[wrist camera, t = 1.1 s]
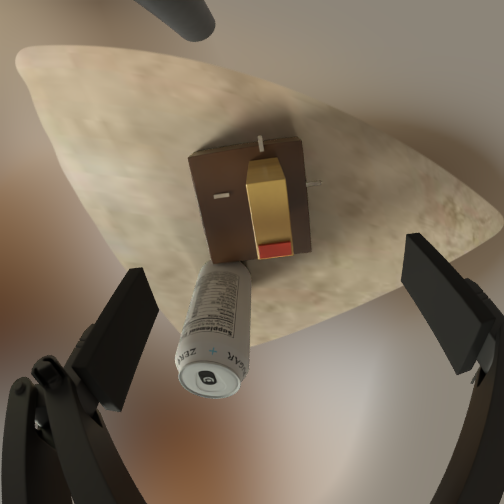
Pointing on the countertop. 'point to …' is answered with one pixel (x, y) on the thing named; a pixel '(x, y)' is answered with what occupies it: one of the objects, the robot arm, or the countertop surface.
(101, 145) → the countertop surface
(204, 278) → the energy drink can
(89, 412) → the robot arm
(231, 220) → the plate
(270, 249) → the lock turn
